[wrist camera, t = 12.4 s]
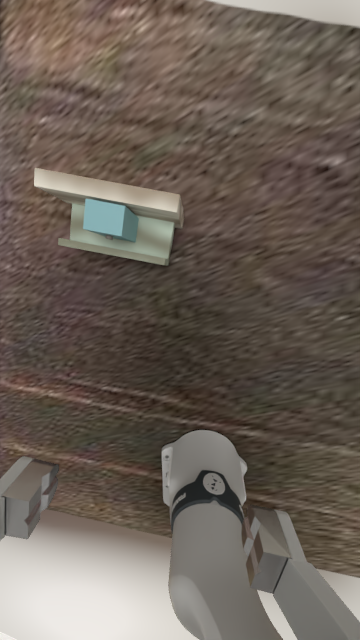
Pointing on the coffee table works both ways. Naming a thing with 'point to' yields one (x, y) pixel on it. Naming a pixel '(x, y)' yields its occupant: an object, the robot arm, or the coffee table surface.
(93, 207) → the teal rectangular block
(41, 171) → the wall shelf
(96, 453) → the coffee table surface
